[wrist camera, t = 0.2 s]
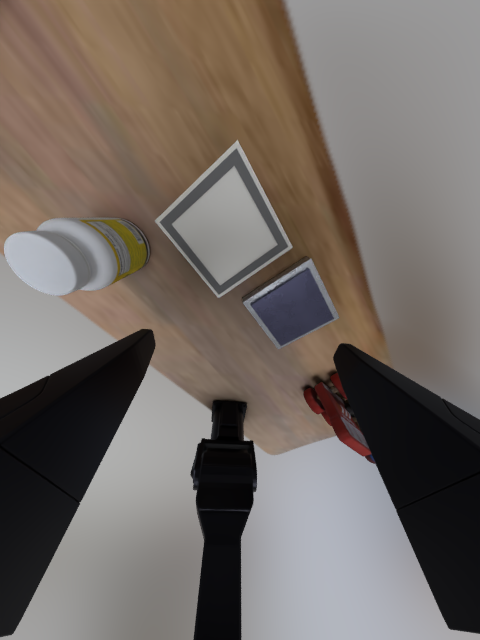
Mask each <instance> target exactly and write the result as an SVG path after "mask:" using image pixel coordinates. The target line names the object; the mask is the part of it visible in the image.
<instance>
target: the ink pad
mask: <svg viewBox="0 0 480 640" xmlns="http://www.w3.org/2000/svg"><path fill="white" fill-rule="evenodd" d="M242 301H243V304H244V305H245V306H246V308H247V309H248V310H249V312H250V313H251V314H252V316H253V317H254V318H255V320H256V321H257V322H258V324H259V325H260V326H261V327H262V329H263V330H264V331H265V333H266V334H267V335H268V337H269V338H270V339H271V341H272V342H273V343H274V345H275V346H276V347H277V349H280V348H282V347H284V346H286V345H288V344H290V343H292V342H294V341H296V340H298V339H300V338H302V337H303V336H305V335H307V334H309V333H311V332H313V331H315V330H317V329H319V328H321V327H323V326H325V325H327V324H329V323H331V322H333V321H335V320H336V319H338V318H339V316H338V314H337V311H336V309H335V307H334V305H333V303H332V301H331V299H330V297H329V295H328V293H327V291H326V288H325V286H324V284H323V282H322V280H321V278H320V276H319V274H318V272H317V270H316V268H315V266H314V263H313V261H312V259H311V258H309V257H307V256H306V257H304V258H303V259H301V260H300V261H298V262H296V263H295V264H293V265H292V266H290V267H289V268H287V269H286V270H284V271H283V272H281V273H280V274H278V275H277V276H275V277H274V278H272V279H271V280H269V281H267V282H266V283H264V284H263V285H261V286H260V287H258V288H257V289H255V290H254V291H252V292H251V293H249V294H248V295H246V296H245V297H243V298H242Z"/></svg>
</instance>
